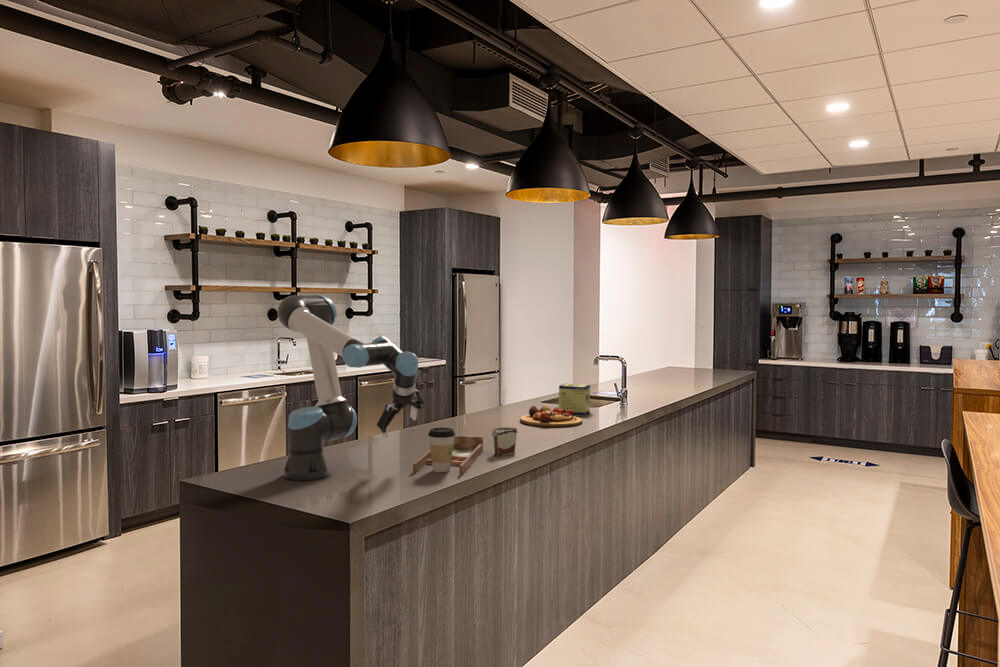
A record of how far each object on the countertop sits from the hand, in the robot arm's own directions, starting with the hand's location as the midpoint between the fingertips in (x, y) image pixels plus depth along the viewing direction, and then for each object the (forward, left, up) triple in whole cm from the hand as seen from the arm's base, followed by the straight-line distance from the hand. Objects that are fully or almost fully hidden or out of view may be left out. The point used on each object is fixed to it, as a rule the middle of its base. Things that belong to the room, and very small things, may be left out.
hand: (399, 427), depth 252 cm
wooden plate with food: (+47, +106, -16) cm, 117 cm away
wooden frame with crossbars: (+17, +11, -15) cm, 25 cm away
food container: (+34, +30, -15) cm, 48 cm away
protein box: (+58, +136, -15) cm, 149 cm away
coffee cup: (+17, -2, -15) cm, 23 cm away
